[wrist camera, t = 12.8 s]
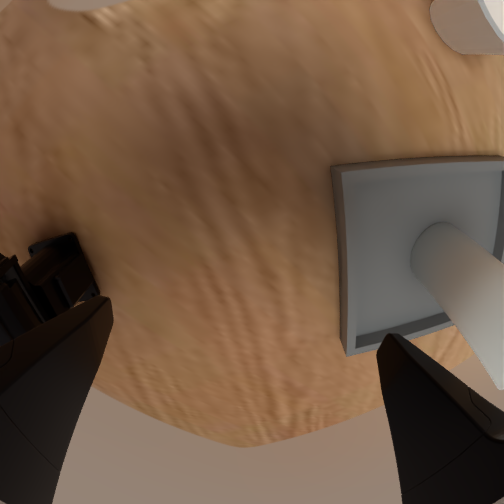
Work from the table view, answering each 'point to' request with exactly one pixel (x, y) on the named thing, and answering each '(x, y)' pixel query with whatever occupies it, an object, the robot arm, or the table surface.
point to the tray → (406, 237)
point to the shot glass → (470, 25)
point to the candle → (465, 290)
